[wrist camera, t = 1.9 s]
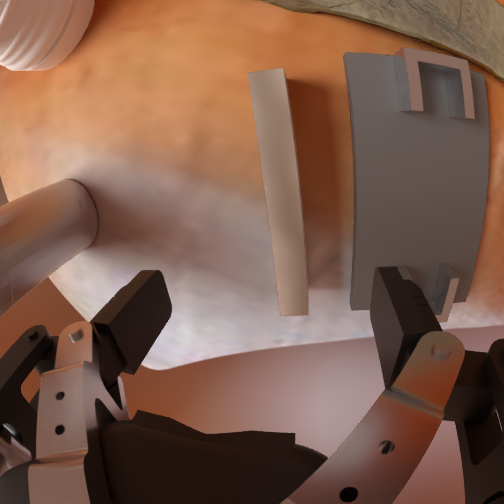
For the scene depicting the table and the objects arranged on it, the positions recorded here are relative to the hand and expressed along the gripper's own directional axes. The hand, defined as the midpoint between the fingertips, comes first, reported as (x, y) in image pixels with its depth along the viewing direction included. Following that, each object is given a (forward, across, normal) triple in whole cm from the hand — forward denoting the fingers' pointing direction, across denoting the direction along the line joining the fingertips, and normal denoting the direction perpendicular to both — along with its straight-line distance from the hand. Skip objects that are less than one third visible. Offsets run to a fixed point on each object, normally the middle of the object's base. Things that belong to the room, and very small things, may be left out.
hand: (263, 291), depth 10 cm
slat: (+16, 0, 0) cm, 17 cm away
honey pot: (+16, +25, -26) cm, 40 cm away
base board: (+16, -13, 0) cm, 21 cm away
